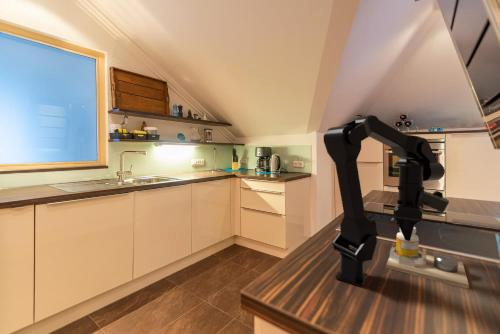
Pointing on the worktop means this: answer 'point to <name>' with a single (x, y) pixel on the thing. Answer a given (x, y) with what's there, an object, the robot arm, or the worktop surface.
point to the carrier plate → (433, 272)
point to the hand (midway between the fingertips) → (408, 235)
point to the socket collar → (408, 259)
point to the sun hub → (446, 263)
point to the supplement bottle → (407, 245)
